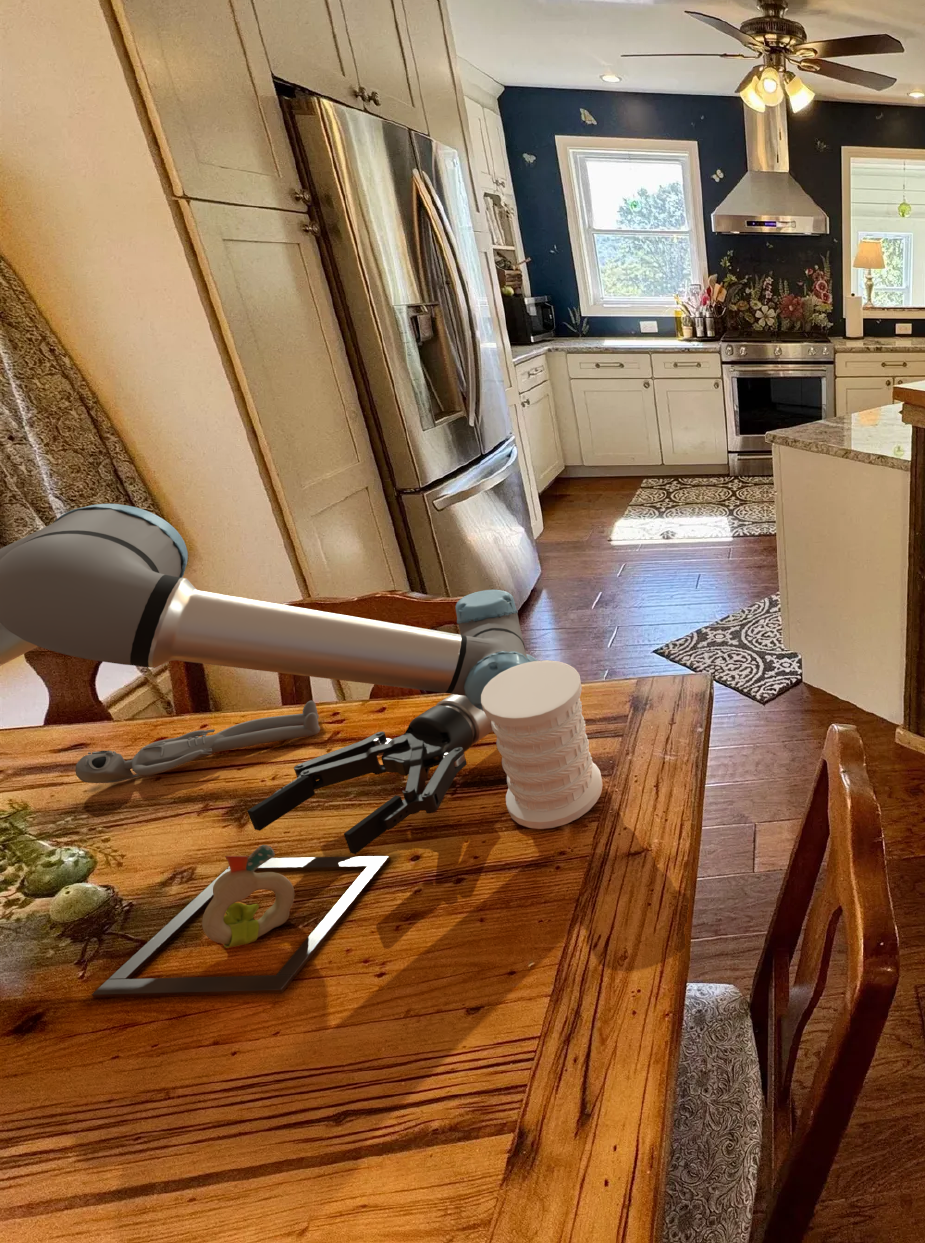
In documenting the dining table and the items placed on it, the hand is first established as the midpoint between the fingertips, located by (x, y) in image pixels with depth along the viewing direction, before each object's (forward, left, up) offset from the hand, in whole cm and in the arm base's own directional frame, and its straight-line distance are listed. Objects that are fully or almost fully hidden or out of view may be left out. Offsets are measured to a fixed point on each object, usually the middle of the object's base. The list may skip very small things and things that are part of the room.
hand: (300, 832), depth 78 cm
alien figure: (-30, +23, -7) cm, 38 cm away
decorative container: (+22, +13, -6) cm, 26 cm away
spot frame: (-2, -6, -6) cm, 9 cm away
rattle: (-2, -6, -7) cm, 9 cm away
